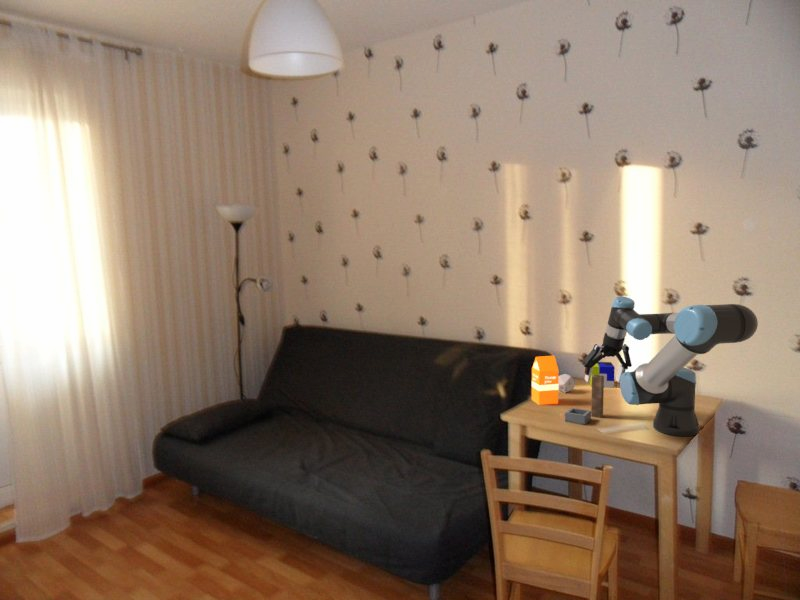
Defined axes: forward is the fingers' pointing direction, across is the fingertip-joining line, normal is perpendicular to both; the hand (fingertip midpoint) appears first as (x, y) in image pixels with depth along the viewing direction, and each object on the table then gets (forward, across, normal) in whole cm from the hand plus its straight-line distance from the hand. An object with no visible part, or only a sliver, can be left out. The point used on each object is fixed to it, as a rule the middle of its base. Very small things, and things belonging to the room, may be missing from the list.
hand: (602, 380), depth 227 cm
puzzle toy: (+23, -20, -30) cm, 43 cm away
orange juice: (+18, +17, -11) cm, 27 cm away
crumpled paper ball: (+21, +1, -23) cm, 32 cm away
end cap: (+9, +15, +13) cm, 22 cm away
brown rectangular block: (+10, +5, +10) cm, 15 cm away
